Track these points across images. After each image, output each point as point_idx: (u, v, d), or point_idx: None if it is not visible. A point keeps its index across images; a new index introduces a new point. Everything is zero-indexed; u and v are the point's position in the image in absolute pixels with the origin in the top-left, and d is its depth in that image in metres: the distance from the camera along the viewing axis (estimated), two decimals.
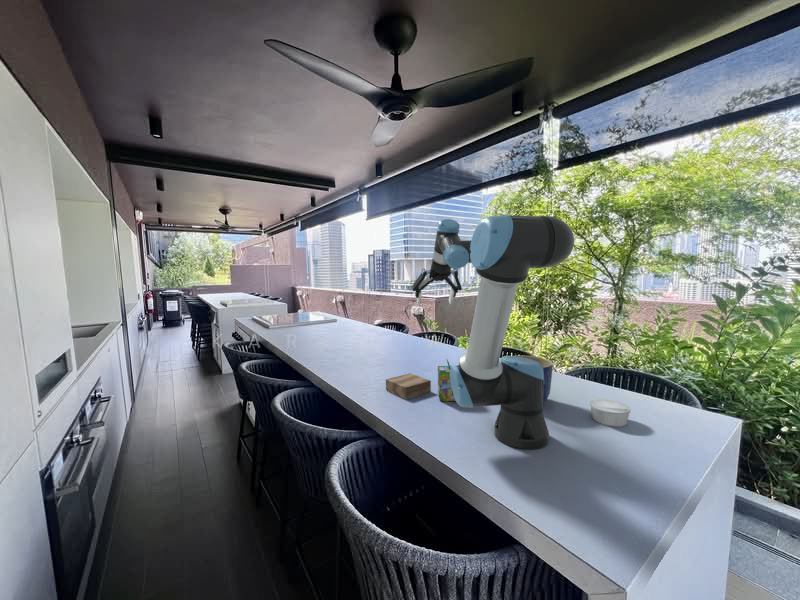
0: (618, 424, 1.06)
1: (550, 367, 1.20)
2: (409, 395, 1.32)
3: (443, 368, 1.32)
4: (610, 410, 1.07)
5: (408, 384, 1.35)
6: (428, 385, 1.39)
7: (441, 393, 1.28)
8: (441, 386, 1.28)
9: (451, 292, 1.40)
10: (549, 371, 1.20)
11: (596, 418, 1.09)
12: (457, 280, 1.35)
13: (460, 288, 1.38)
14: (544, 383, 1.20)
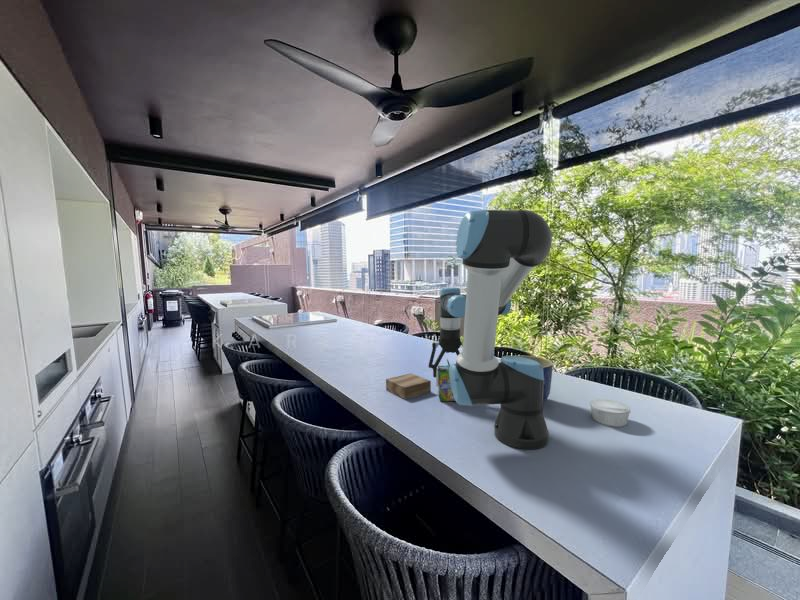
0: (618, 424, 1.06)
1: (550, 367, 1.20)
2: (408, 395, 1.32)
3: (443, 368, 1.32)
4: (610, 410, 1.07)
5: (408, 384, 1.35)
6: (428, 385, 1.38)
7: (441, 393, 1.28)
8: (441, 386, 1.28)
9: None
10: (549, 371, 1.20)
11: (596, 418, 1.09)
12: None
13: None
14: (544, 383, 1.20)
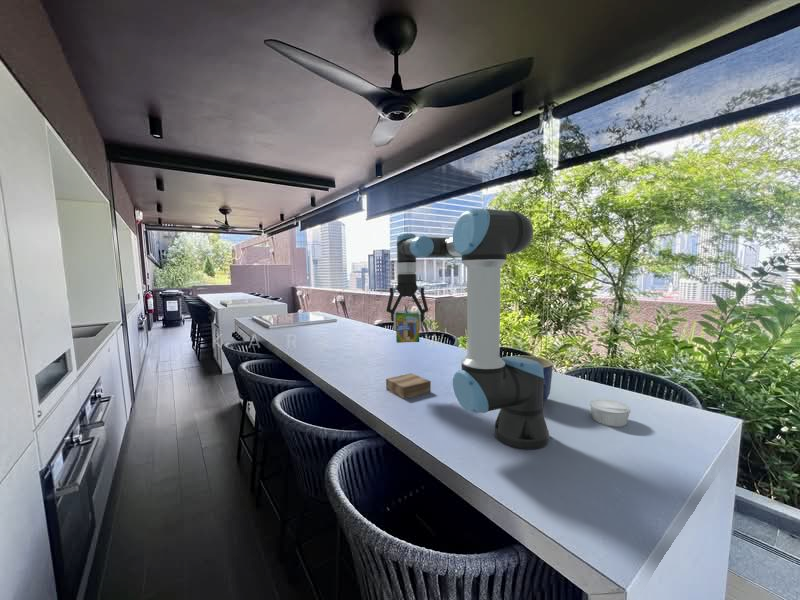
0: (618, 424, 1.06)
1: (550, 367, 1.20)
2: (408, 395, 1.32)
3: (400, 312, 1.38)
4: (610, 410, 1.07)
5: (407, 384, 1.35)
6: (428, 385, 1.38)
7: (397, 334, 1.34)
8: (397, 327, 1.34)
9: None
10: (549, 371, 1.20)
11: (596, 418, 1.09)
12: (423, 298, 1.35)
13: (426, 309, 1.35)
14: (544, 383, 1.20)
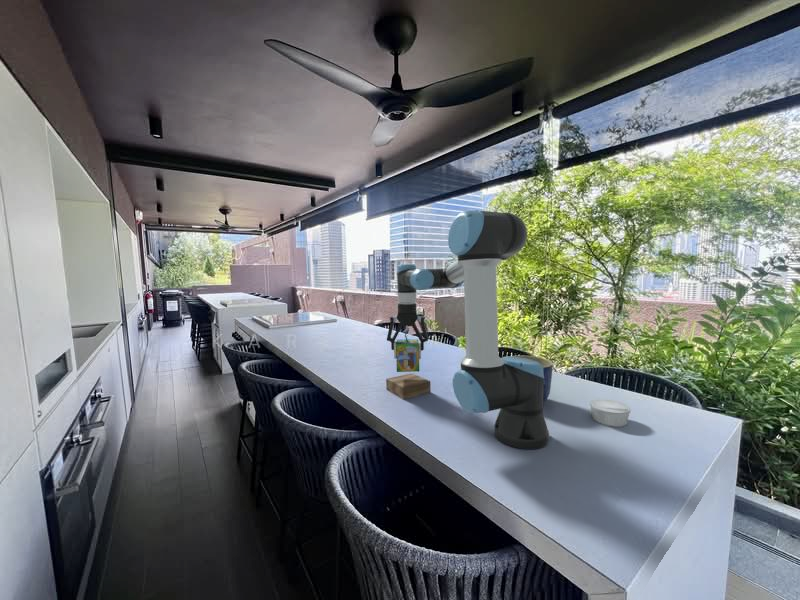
0: (618, 424, 1.06)
1: (550, 367, 1.20)
2: (407, 395, 1.33)
3: (401, 341, 1.39)
4: (610, 410, 1.07)
5: (407, 384, 1.35)
6: (428, 385, 1.38)
7: (397, 364, 1.35)
8: (397, 357, 1.35)
9: None
10: (549, 371, 1.20)
11: (596, 418, 1.09)
12: (423, 328, 1.36)
13: (426, 338, 1.37)
14: (544, 383, 1.20)
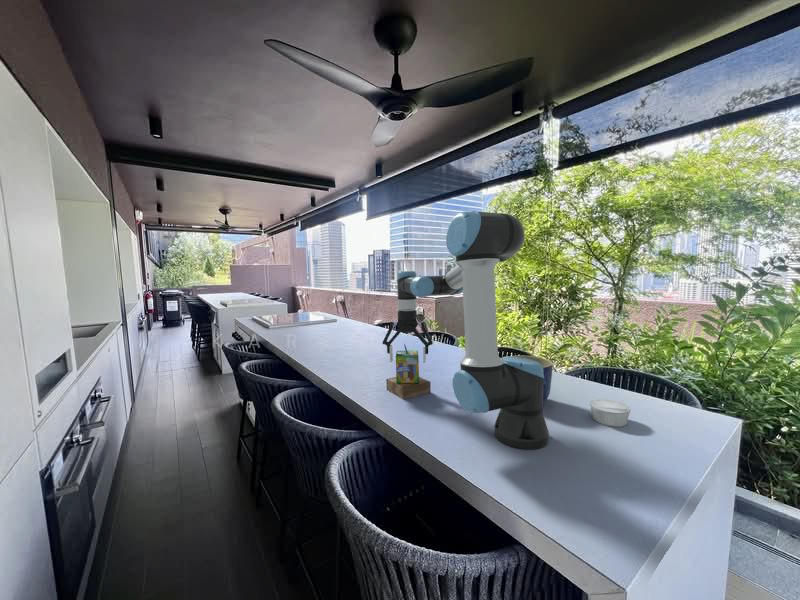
0: (618, 424, 1.06)
1: (550, 367, 1.20)
2: (407, 396, 1.33)
3: (400, 352, 1.39)
4: (610, 410, 1.07)
5: (407, 384, 1.35)
6: (428, 386, 1.38)
7: (397, 375, 1.35)
8: (397, 369, 1.35)
9: None
10: (549, 371, 1.20)
11: (596, 418, 1.09)
12: (425, 332, 1.36)
13: (430, 342, 1.36)
14: (544, 383, 1.20)
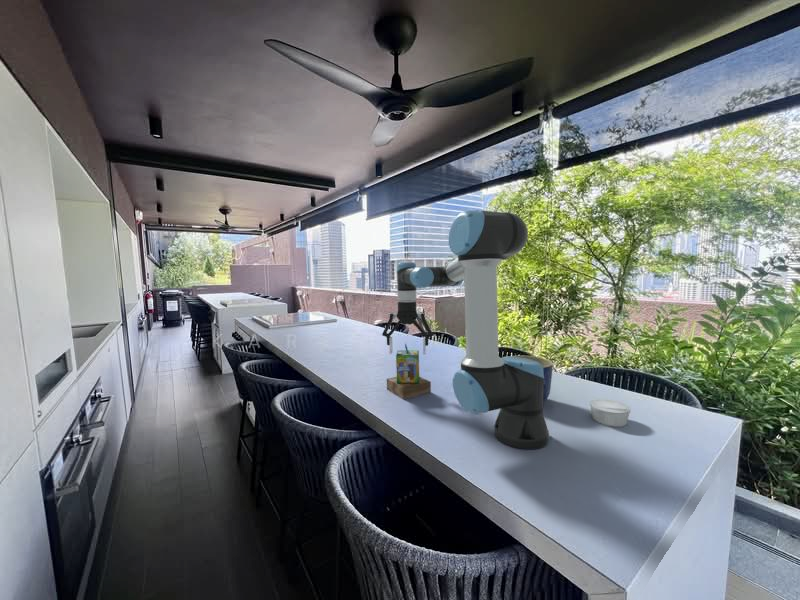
0: (618, 424, 1.06)
1: (550, 367, 1.20)
2: (407, 395, 1.33)
3: (401, 352, 1.39)
4: (610, 410, 1.07)
5: (407, 384, 1.35)
6: (428, 386, 1.38)
7: (398, 375, 1.36)
8: (397, 368, 1.35)
9: (423, 340, 1.38)
10: (549, 371, 1.20)
11: (596, 418, 1.09)
12: (425, 323, 1.36)
13: (430, 334, 1.36)
14: (544, 383, 1.20)
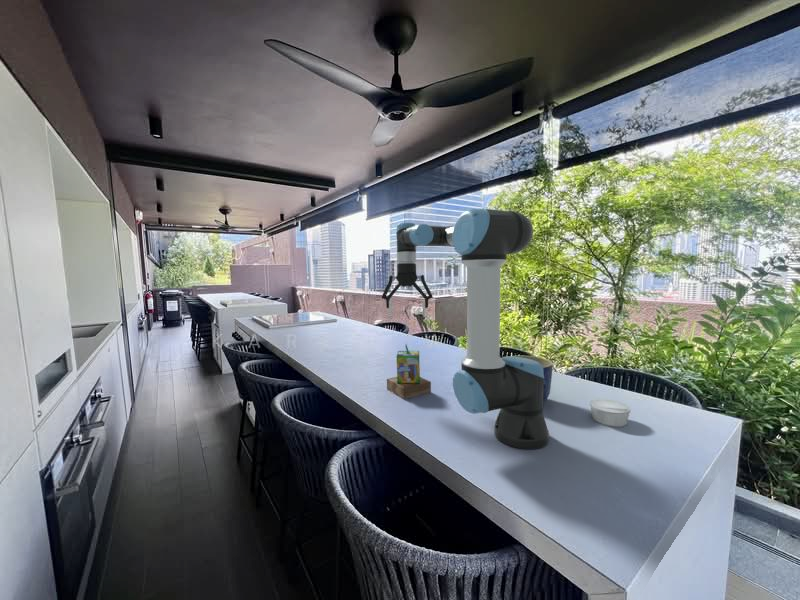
0: (618, 424, 1.06)
1: (550, 367, 1.20)
2: (407, 396, 1.33)
3: (402, 352, 1.39)
4: (610, 410, 1.07)
5: (407, 384, 1.35)
6: (428, 386, 1.38)
7: (398, 375, 1.36)
8: (398, 369, 1.36)
9: (423, 302, 1.36)
10: (549, 371, 1.20)
11: (596, 418, 1.09)
12: (425, 285, 1.35)
13: (430, 295, 1.35)
14: (544, 383, 1.20)
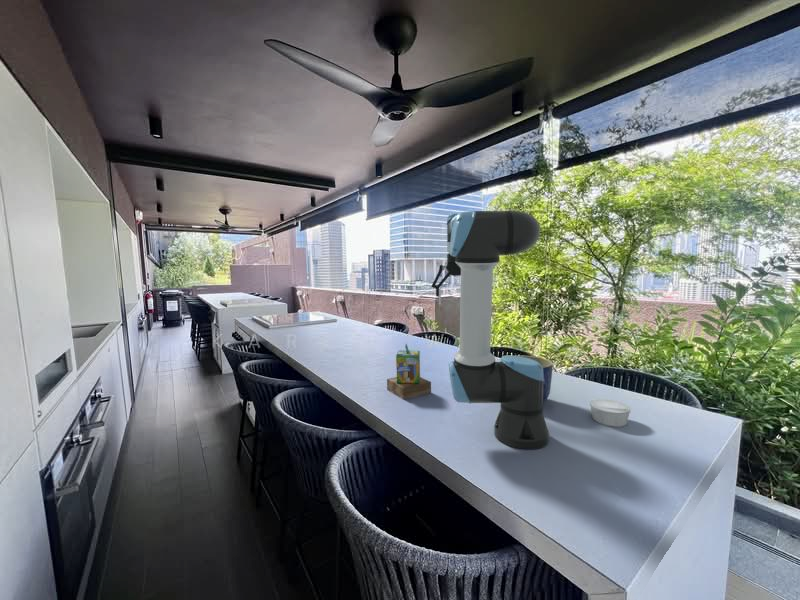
0: (618, 424, 1.06)
1: (550, 367, 1.20)
2: (407, 396, 1.32)
3: (402, 352, 1.39)
4: (610, 410, 1.07)
5: (407, 384, 1.35)
6: (429, 386, 1.37)
7: (398, 375, 1.36)
8: (397, 369, 1.36)
9: None
10: (549, 371, 1.20)
11: (596, 418, 1.09)
12: None
13: None
14: (544, 383, 1.20)
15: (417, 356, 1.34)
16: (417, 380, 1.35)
